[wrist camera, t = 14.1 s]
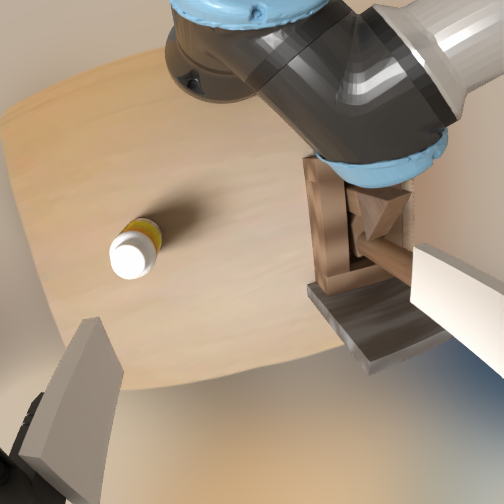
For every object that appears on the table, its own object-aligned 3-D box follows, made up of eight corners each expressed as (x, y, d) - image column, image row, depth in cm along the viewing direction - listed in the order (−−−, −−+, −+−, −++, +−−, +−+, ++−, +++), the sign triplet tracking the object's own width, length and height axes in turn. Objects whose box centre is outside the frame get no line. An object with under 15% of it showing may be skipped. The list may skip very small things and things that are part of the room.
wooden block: (352, 178, 42) (434, 196, 26) (366, 243, 46) (440, 287, 29) (331, 185, 42) (408, 207, 25) (346, 251, 46) (417, 301, 29)
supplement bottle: (131, 211, 38) (111, 229, 29) (168, 225, 40) (160, 248, 30) (119, 248, 40) (98, 275, 30) (155, 262, 41) (144, 293, 32)
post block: (292, 159, 40) (369, 167, 21) (387, 150, 42) (486, 159, 23) (307, 296, 47) (368, 375, 28) (391, 272, 49) (469, 328, 30)
